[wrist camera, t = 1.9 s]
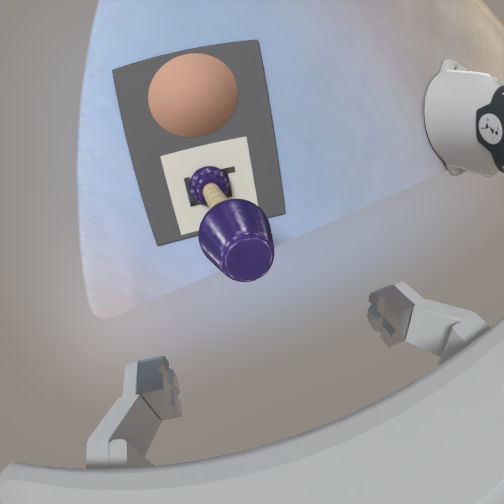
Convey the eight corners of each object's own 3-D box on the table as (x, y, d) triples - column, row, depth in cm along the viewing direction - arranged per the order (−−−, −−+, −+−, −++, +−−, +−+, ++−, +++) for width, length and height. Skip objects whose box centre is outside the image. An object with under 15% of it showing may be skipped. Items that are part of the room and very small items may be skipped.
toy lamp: (227, 158, 29) (279, 207, 14) (239, 199, 31) (295, 280, 17) (183, 173, 29) (187, 238, 14) (197, 213, 31) (216, 308, 16)
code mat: (257, 40, 24) (258, 39, 24) (284, 212, 33) (285, 213, 33) (112, 70, 22) (111, 69, 22) (157, 244, 32) (157, 246, 31)
